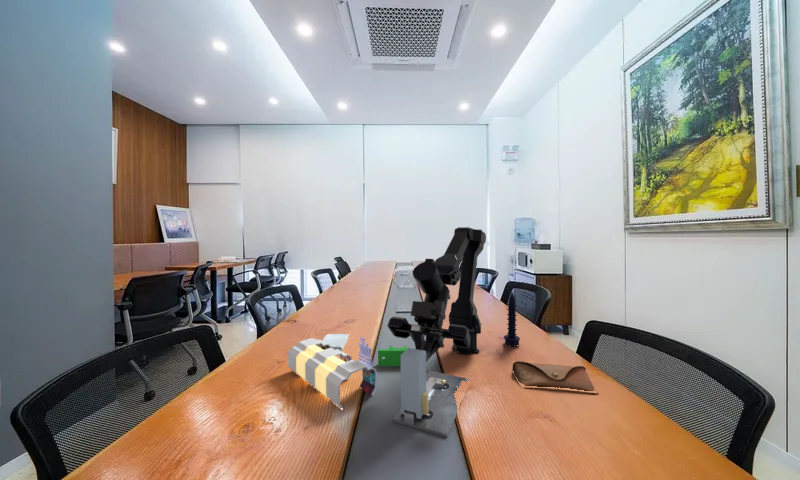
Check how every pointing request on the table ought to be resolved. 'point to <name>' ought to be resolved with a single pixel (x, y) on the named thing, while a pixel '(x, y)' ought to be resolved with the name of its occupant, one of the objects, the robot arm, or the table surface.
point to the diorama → (331, 367)
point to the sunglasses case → (552, 376)
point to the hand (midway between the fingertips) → (418, 368)
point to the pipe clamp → (390, 356)
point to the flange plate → (435, 405)
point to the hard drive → (336, 340)
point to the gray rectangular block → (414, 383)
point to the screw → (512, 323)
